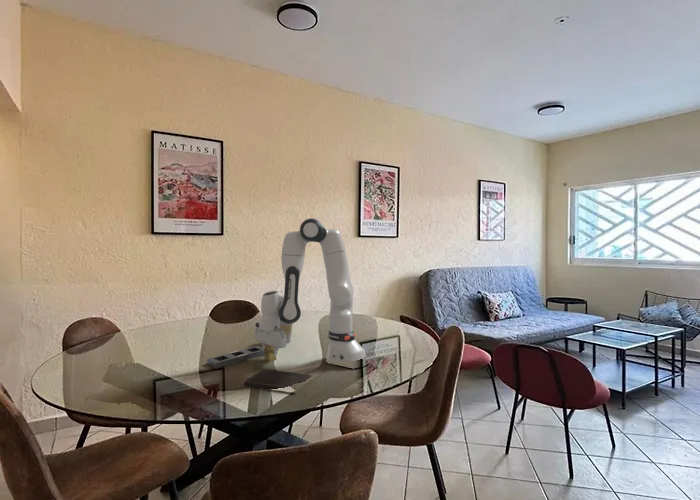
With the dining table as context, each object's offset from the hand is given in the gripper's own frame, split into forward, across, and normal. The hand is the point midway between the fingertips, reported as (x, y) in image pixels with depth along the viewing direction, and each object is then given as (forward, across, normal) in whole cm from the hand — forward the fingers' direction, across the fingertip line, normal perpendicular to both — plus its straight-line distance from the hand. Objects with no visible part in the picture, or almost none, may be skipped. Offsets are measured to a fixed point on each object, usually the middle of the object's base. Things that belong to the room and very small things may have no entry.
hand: (270, 353), depth 194 cm
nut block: (+3, 0, 0) cm, 3 cm away
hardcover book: (+4, -25, +15) cm, 29 cm away
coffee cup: (+3, +18, -24) cm, 30 cm away
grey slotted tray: (+3, +12, +10) cm, 16 cm away
